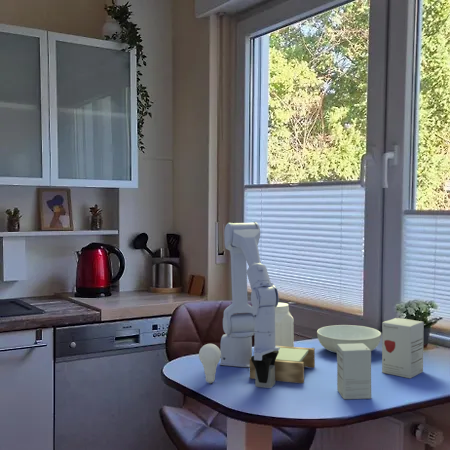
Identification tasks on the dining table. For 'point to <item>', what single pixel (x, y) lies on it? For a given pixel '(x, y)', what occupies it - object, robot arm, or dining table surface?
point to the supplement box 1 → (354, 371)
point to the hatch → (291, 354)
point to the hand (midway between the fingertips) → (265, 379)
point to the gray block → (270, 378)
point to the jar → (283, 326)
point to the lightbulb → (209, 360)
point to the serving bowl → (348, 336)
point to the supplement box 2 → (402, 347)
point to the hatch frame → (290, 367)
